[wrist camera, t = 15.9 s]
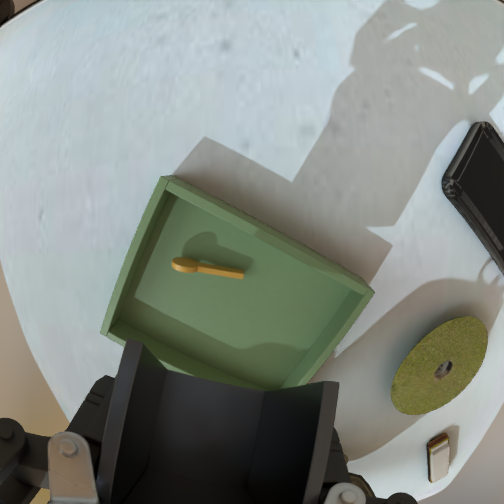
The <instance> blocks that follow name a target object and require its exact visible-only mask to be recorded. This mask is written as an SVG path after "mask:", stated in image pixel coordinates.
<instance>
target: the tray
mask: <svg viewBox="0 0 504 504" xmlns="http://www.w3.org/2000/svg"><path fill="white" fill-rule="evenodd" d="M176 257H186V258H191V259H193V260H196V261H197V262H200V263H206V264H211V265H217V266H223V267H229V268H234V269H240V270H243V272H244V277H243V279H237V278H231V277H225V276H219V275H213V274H207V273H201V272H195V273H184V272H180V271H177V270H175V269H174V268H172V266H171V264H172V259H173V258H176ZM374 293H375V292H374V290H373V289H372V288H371V287H370V286H369V285H368V284H367V283H366V282H365V281H364V280H363V279H362V278H360V277H359V276H357V275H355V274H353V273H352V272H350V271H348V270H346V269H345V268H343V267H341V266H340V265H338V264H336V263H334V262H332V261H331V260H329V259H327V258H325V257H324V256H322V255H320V254H318V253H317V252H315V251H313V250H311V249H309V248H308V247H306V246H304V245H302V244H301V243H299V242H297V241H295V240H293V239H291V238H290V237H288V236H286V235H284V234H282V233H281V232H279V231H277V230H275V229H273V228H271V227H270V226H268V225H266V224H264V223H262V222H260V221H259V220H257V219H255V218H253V217H251V216H249V215H247V214H246V213H244V212H242V211H240V210H238V209H236V208H234V207H232V206H231V205H229V204H227V203H225V202H223V201H221V200H219V199H217V198H215V197H213V196H212V195H210V194H208V193H206V192H204V191H202V190H200V189H198V188H196V187H194V186H192V185H190V184H188V183H187V182H185V181H183V180H181V179H179V178H177V177H175V176H173V175H169V176H161V177H160V179H159V181H158V183H157V185H156V187H155V189H154V192H153V194H152V196H151V198H150V200H149V203H148V205H147V207H146V209H145V212H144V214H143V216H142V219H141V221H140V223H139V226H138V228H137V230H136V233H135V235H134V238H133V240H132V243H131V245H130V248H129V250H128V253H127V255H126V258H125V261H124V263H123V266H122V269H121V271H120V274H119V277H118V279H117V282H116V285H115V288H114V291H113V294H112V297H111V300H110V303H109V306H108V309H107V312H106V315H105V318H104V321H103V324H102V328H101V331H100V333H101V334H102V335H104V336H107V337H108V338H109V339H111V340H113V341H114V342H116V343H118V344H120V345H122V346H123V347H125V344H126V340H127V338H130V339H134V340H137V341H140V342H143V343H144V344H145V345H146V346H147V348H148V349H149V350H150V351H151V352H152V353H153V354H154V355H155V357H156V358H157V359H158V360H159V361H160V362H161V363H162V364H163V365H164V366H165V367H166V369H168V370H172V371H176V372H180V373H183V374H187V375H191V376H195V377H200V378H204V379H208V380H213V381H217V382H222V383H226V384H231V385H236V386H242V387H247V388H252V389H258V390H264V391H268V390H275V389H282V388H288V387H294V386H300V385H306V384H307V383H308V382H309V380H310V379H311V378H312V377H313V376H314V374H315V373H316V372H317V371H318V370H319V368H320V367H321V366H322V365H323V363H324V362H325V361H326V359H327V358H328V357H329V356H330V354H331V353H332V352H333V351H334V349H335V348H336V347H337V345H338V344H339V343H340V341H341V340H342V339H343V337H344V336H345V335H346V333H347V332H348V331H349V329H350V328H351V326H352V325H353V324H354V322H355V321H356V319H357V318H358V317H359V315H360V314H361V312H362V311H363V309H364V308H365V307H366V305H367V304H368V302H369V301H370V299H371V298H372V296H373V295H374Z"/></svg>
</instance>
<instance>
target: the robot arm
mask: <svg viewBox="0 0 504 504" xmlns="http://www.w3.org/2000/svg"><path fill="white" fill-rule="evenodd" d="M116 377H117V375H116ZM116 377H115V378H113V377H110V376H107V375H105V376H104V377H102V378H101V379H99V380H97V381H96V382H95V384H94V385H93V387H92V388H91V390H90V393H88V395H87V396H86V398H85V401H83V403H82V405H81V406H80V408H79V410H78V411H77V413H76V415H75V416H74V418H73V420H72V421H71V423H70V425H69V426H68V428H67V429H66V430H65V431H64V432H59V433H57V434H55V435H53V436H52V437H46V436H40V435H35V434H31V433H27V432H25V431H24V429H23V427H22V426H21V425H20V424H19V423H18V422H17V421H15V420H13V419H10V418H0V504H29V503H30V502H31V501H32V499H33V498H34V497H35V495H36V494H37V493H38V491H39V490H40V489H41V488H46V489H50V501H49V502H48V503H47V504H100V500H99V495H98V490H97V485H96V476H97V470H98V463H99V457H100V451H101V446H102V441H103V435H104V430H105V425H106V420H107V416H108V411H109V407H110V402H111V398H112V394H113V389H114V385H115V381H116ZM339 442H340V440H339V437H338V434H337V431H336V430H335V428H334V427H333V433H332V439H331V445H330V450H329V456H328V461H327V466H326V471H325V476H324V481H323V485H322V490H321V494H320V499H319V503H318V504H418V503H417V502H416V500H415V499H414V498H413V497H412V496H411V495H409V494H407V493H401V492H400V493H395V494H393V495H391V496H390V497H389V498H388V499H383V498H376V497H371V496H366V495H365V494H364V493H363V491H362V490H361V489H360V488H359V487H358V486H356V485H354V484H352V482H351V480H350V476H349V472H348V469H347V465H346V462H345V458H344V454H343V452H342V447H341V444H340V443H339Z"/></svg>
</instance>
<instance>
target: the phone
mask: <svg viewBox="0 0 504 504" xmlns="http://www.w3.org/2000/svg"><path fill="white" fill-rule="evenodd" d="M442 190H443V193H444V194H445V196H446V197H447V198H448V199H449V201H450V202H451V203H452V204H453V205H454V207H455V208H456V209H457V210H458V212H459V213H460V214H461V215H462V217H463V218H464V219H465V220H466V222H467V223H468V224H469V226H470V227H471V228H472V230H473V231H474V232H475V234H476V235H477V236H478V238H479V239H480V241H481V242H482V243H483V245H484V246H485V248H486V249H487V251H488V252H489V254H490V255H491V256H492V258H493V259H494V261H495V263H496V264H497V266H498V267H499V269H500V270H501V272H502V273H503V275H504V143H503V141H502V140H501V138H500V137H499V135H498V134H497V132H496V131H495V129H494V128H493V127H492V125H491V124H490V123H488V122H476V123H474V124H473V125H472V126H471V128H470V130H469V132H468V134H467V136H466V137H465V139H464V141H463V143H462V145H461V146H460V148H459V150H458V152H457V153H456V155H455V157H454V159H453V160H452V162H451V164H450V165H449V167H448V169H447V170H446V172H445V174H444V176H443V178H442Z"/></svg>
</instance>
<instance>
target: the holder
mask: <svg viewBox="0 0 504 504" xmlns="http://www.w3.org/2000/svg"><path fill="white" fill-rule="evenodd" d="M338 391H339V382H333V381H321V382H316V383H311V384H306V385H300V386H294V387H288V388H282V389H275V390H268V391H264V390H258V389H252V388H247V387H242V386H236V385H231V384H226V383H222V382H217V381H213V380H208V379H204V378H200V377H195V376H191V375H187V374H183V373H180V372H176V371H172V370H168V369H166V367H165V366H164V365H163V364H162V363H161V362H160V361H159V360H158V359H157V358H156V357H155V355H154V354H153V353H152V352H151V351H150V350H149V349H148V348H147V346H146V345H145V344H144V343H143V342H140V341H137V340H134V339H130V338H127V340H126V344H125V347H124V351H123V354H122V358H121V362H120V366H119V369H118V373H117V377H116V381H115V385H114V389H113V394H112V398H111V402H110V407H109V411H108V416H107V420H106V425H105V430H104V435H103V441H102V446H101V451H100V457H99V463H98V470H97V476H96V485H97V490H98V495H99V500H100V504H318V503H319V499H320V494H321V490H322V485H323V481H324V476H325V471H326V466H327V461H328V456H329V450H330V445H331V439H332V433H333V426H334V420H335V413H336V406H337V398H338Z"/></svg>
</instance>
